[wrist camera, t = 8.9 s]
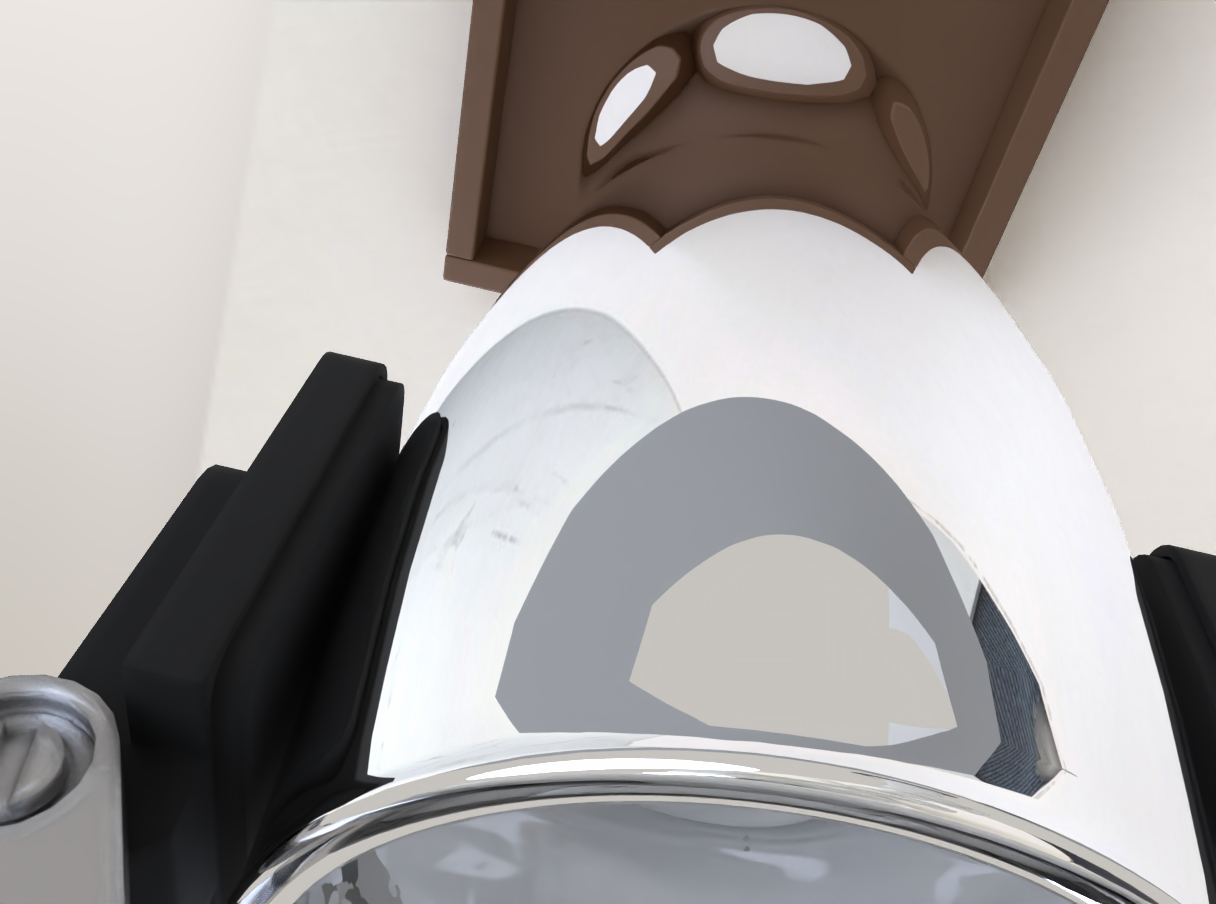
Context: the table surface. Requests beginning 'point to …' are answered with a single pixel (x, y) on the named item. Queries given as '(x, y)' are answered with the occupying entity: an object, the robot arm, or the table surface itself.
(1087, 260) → the table surface
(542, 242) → the tray
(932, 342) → the beer glass
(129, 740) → the robot arm
